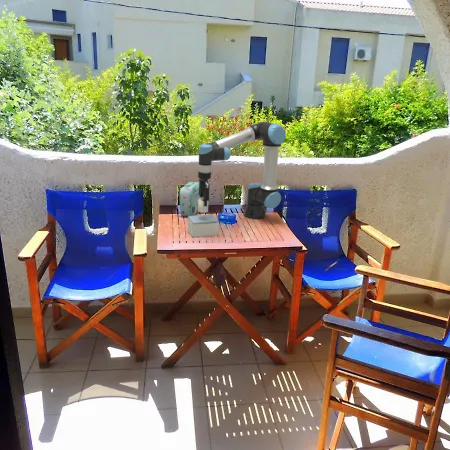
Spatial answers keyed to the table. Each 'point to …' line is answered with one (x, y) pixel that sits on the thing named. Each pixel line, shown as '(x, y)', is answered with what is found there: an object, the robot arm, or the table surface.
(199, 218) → the lid
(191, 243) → the table surface
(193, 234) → the crate
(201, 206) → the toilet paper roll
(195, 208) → the lunch box
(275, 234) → the table surface
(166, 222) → the table surface
